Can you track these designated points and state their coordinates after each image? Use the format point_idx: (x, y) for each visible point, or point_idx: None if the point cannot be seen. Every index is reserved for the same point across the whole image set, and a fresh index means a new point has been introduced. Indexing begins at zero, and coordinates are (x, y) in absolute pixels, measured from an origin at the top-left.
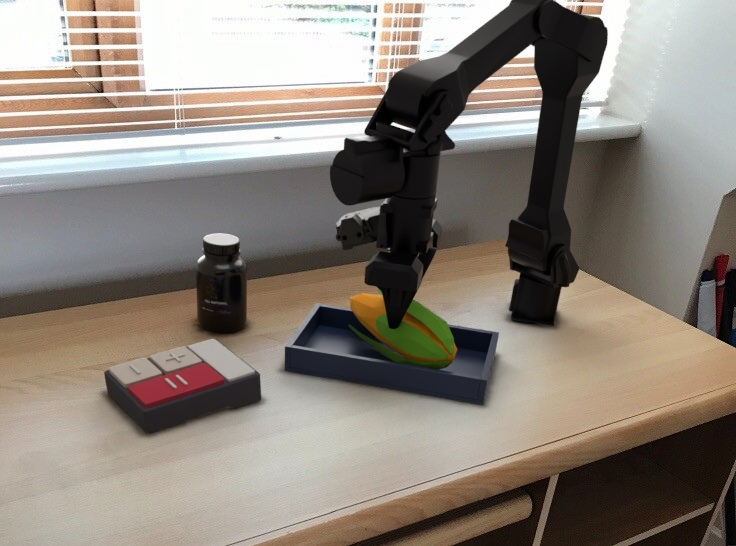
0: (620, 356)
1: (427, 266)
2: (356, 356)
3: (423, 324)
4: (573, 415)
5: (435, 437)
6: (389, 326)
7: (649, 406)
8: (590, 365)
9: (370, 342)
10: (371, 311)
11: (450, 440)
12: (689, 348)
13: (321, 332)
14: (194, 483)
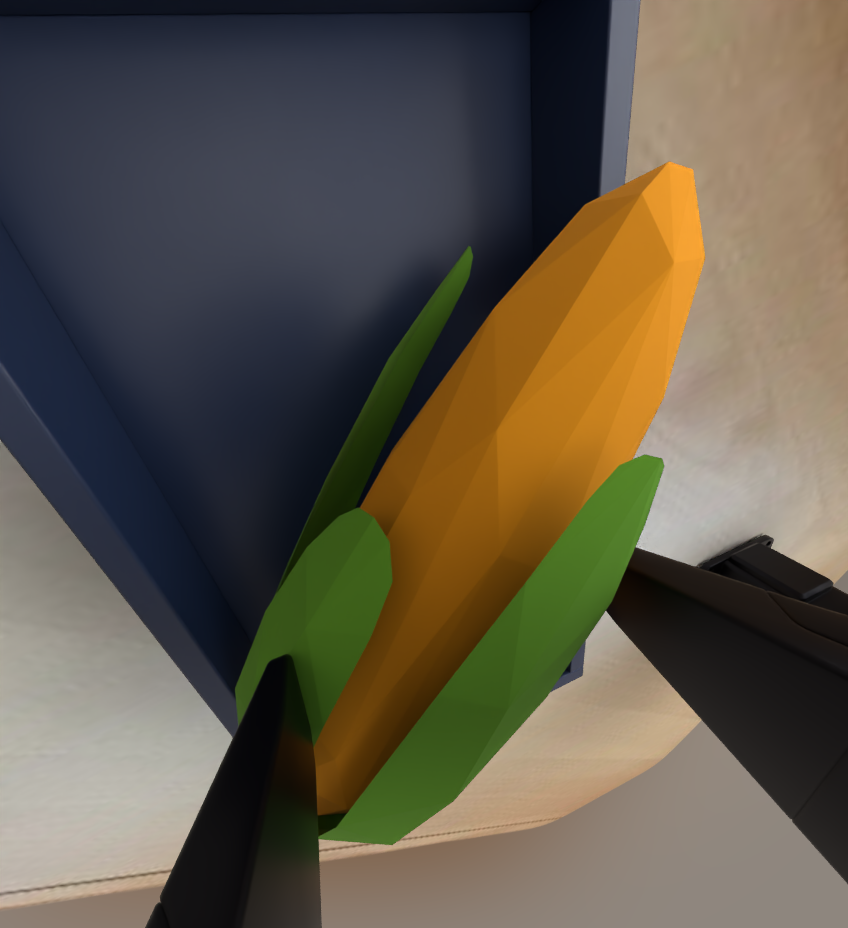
0: (605, 726)
1: (833, 858)
2: (81, 496)
3: (362, 781)
4: None
5: (10, 790)
6: (265, 673)
7: (465, 824)
8: (562, 725)
9: (356, 429)
10: (470, 434)
11: (38, 810)
12: (649, 748)
13: (452, 68)
14: None
